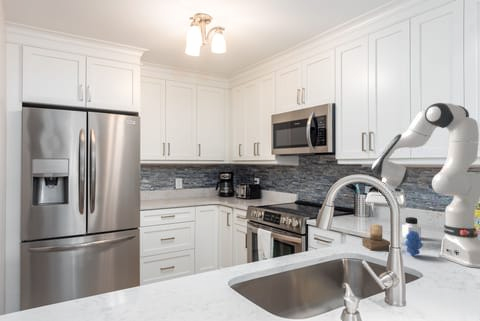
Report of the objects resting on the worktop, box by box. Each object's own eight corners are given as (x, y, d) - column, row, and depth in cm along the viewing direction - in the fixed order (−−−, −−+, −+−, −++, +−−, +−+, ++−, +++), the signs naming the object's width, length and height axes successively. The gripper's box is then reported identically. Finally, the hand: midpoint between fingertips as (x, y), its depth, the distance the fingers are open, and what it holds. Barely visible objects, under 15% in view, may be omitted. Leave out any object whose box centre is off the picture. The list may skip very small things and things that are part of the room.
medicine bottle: (421, 239, 178) (421, 218, 178) (408, 239, 178) (408, 218, 178) (414, 237, 185) (414, 216, 185) (402, 236, 185) (402, 216, 185)
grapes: (416, 260, 138) (416, 233, 138) (401, 256, 143) (401, 230, 144) (429, 256, 144) (429, 230, 145) (414, 253, 150) (414, 227, 150)
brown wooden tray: (391, 250, 154) (391, 242, 154) (371, 250, 153) (371, 242, 153) (381, 245, 164) (381, 237, 164) (362, 245, 163) (362, 237, 163)
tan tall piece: (384, 249, 156) (384, 227, 156) (373, 249, 156) (373, 227, 156) (379, 246, 162) (379, 224, 162) (368, 246, 161) (368, 224, 162)
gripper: (367, 187, 181) (361, 206, 173) (406, 189, 168) (402, 210, 160) (369, 195, 184) (364, 213, 176) (408, 197, 172) (404, 217, 164)
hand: (382, 211), depth 168 cm, fingers open, 8 cm apart
